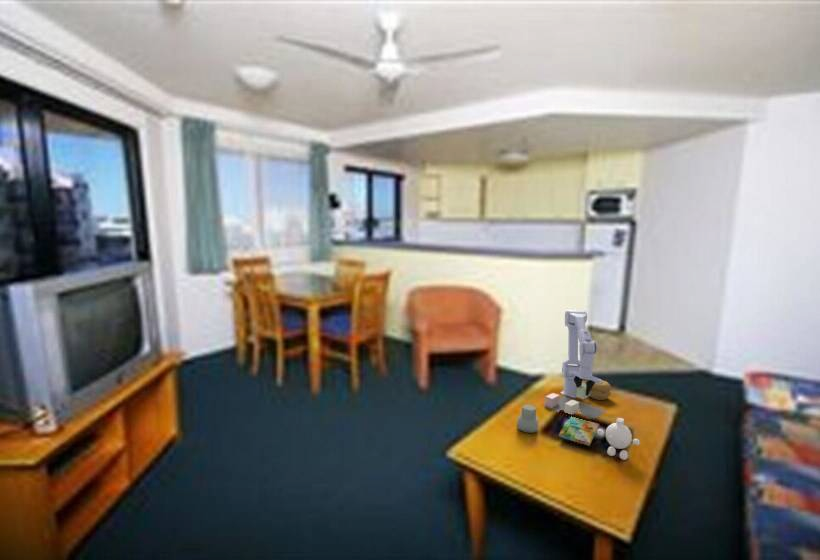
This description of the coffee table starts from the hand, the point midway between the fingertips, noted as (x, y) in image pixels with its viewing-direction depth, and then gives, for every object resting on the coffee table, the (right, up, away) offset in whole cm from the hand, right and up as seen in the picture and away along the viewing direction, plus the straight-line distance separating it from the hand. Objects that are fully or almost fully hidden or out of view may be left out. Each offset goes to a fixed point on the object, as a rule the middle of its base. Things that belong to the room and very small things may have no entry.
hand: (583, 393), depth 203 cm
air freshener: (-32, -10, -19) cm, 39 cm away
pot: (+14, -7, +18) cm, 24 cm away
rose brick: (-13, -7, +6) cm, 16 cm away
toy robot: (-2, -14, -37) cm, 39 cm away
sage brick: (0, -1, 0) cm, 1 cm away
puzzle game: (-11, -12, -24) cm, 29 cm away
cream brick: (-6, -8, -1) cm, 10 cm away
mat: (-3, -8, +3) cm, 9 cm away
